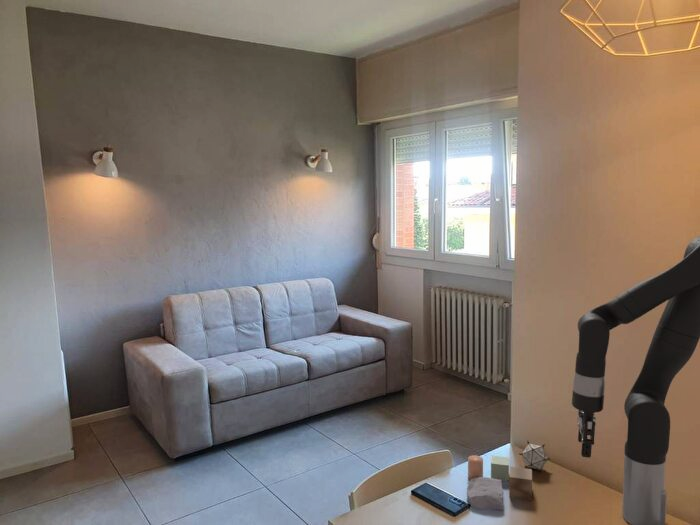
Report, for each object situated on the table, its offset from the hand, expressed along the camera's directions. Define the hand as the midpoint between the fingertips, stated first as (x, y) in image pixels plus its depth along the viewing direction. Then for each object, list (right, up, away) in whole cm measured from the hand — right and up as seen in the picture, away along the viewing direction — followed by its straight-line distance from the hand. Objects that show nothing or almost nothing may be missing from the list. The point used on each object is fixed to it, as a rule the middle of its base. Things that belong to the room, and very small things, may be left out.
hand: (584, 449), depth 141 cm
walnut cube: (-13, -17, +11) cm, 24 cm away
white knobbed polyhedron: (-5, -15, +24) cm, 29 cm away
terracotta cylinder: (-24, -16, +20) cm, 35 cm away
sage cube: (-16, -15, +21) cm, 31 cm away
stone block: (-24, -18, +10) cm, 31 cm away
